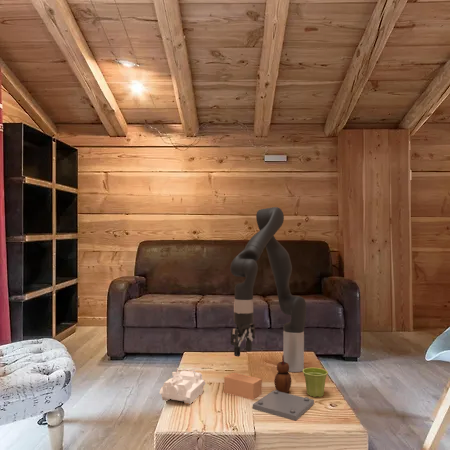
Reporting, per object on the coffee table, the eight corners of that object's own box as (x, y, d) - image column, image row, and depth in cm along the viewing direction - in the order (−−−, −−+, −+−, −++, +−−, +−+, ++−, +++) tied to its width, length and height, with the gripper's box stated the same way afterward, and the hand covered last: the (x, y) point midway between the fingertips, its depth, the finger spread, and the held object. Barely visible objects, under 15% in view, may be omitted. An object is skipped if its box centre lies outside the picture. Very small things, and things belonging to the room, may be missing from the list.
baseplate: (273, 394, 150) (273, 388, 151) (313, 404, 142) (313, 397, 142) (252, 408, 137) (252, 401, 137) (295, 420, 128) (295, 413, 128)
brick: (233, 387, 157) (233, 372, 157) (261, 395, 150) (261, 378, 150) (224, 392, 152) (224, 376, 152) (253, 400, 145) (253, 383, 145)
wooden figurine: (286, 396, 148) (286, 355, 149) (272, 393, 151) (272, 353, 152) (293, 390, 154) (293, 351, 155) (279, 387, 157) (279, 349, 158)
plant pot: (297, 394, 150) (298, 371, 150) (309, 388, 157) (309, 365, 158) (320, 401, 144) (320, 377, 145) (332, 393, 151) (332, 370, 152)
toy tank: (206, 391, 153) (206, 365, 154) (184, 411, 134) (185, 382, 135) (178, 387, 157) (178, 362, 157) (153, 406, 138) (154, 378, 139)
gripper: (244, 307, 160) (244, 348, 160) (225, 312, 148) (224, 356, 148) (261, 309, 156) (260, 351, 155) (242, 314, 144) (241, 359, 144)
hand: (243, 353), depth 152 cm, fingers open, 8 cm apart
